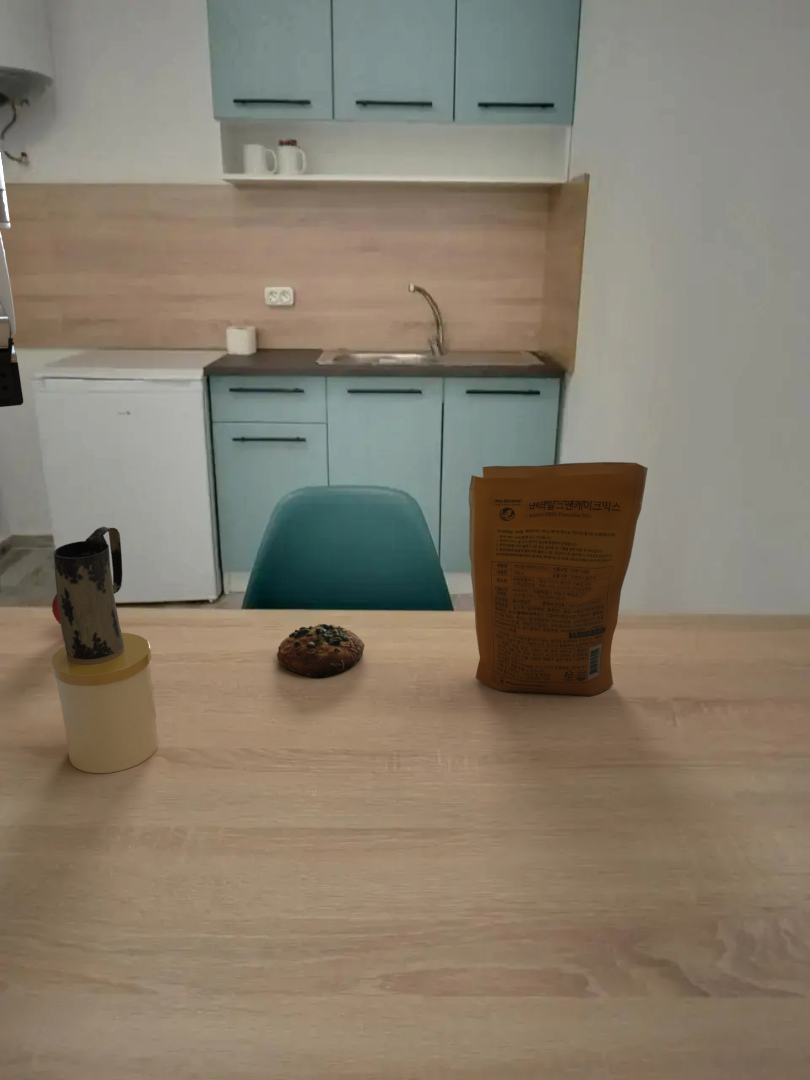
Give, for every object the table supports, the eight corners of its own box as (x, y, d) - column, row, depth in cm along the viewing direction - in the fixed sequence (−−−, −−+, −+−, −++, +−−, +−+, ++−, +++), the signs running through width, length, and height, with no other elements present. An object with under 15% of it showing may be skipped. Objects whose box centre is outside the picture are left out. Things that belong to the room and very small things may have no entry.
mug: (100, 669, 80) (83, 552, 76) (53, 660, 82) (35, 546, 78) (149, 634, 87) (136, 526, 83) (105, 627, 89) (90, 521, 85)
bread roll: (297, 685, 99) (294, 645, 98) (264, 659, 108) (262, 623, 107) (379, 666, 104) (377, 628, 103) (341, 644, 114) (339, 608, 113)
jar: (55, 743, 88) (39, 648, 84) (141, 714, 93) (130, 624, 90) (84, 786, 81) (68, 685, 77) (175, 752, 86) (164, 656, 83)
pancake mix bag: (630, 706, 95) (654, 468, 86) (463, 697, 97) (469, 464, 87) (622, 677, 101) (643, 453, 92) (465, 670, 103) (470, 449, 94)
